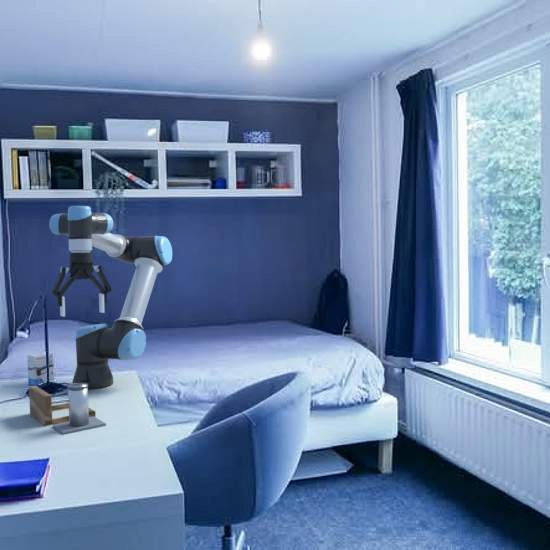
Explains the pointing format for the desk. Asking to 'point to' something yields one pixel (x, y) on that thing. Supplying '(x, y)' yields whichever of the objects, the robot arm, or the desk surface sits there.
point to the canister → (78, 404)
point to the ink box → (39, 368)
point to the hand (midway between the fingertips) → (82, 314)
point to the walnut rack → (47, 407)
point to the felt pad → (66, 427)
